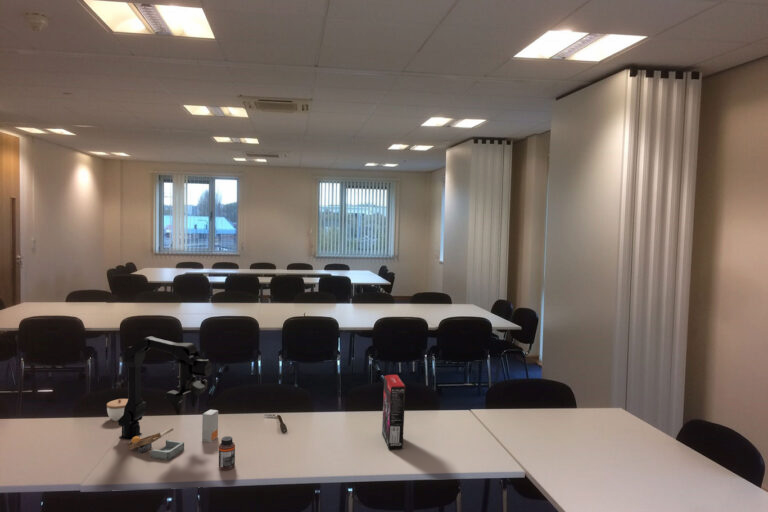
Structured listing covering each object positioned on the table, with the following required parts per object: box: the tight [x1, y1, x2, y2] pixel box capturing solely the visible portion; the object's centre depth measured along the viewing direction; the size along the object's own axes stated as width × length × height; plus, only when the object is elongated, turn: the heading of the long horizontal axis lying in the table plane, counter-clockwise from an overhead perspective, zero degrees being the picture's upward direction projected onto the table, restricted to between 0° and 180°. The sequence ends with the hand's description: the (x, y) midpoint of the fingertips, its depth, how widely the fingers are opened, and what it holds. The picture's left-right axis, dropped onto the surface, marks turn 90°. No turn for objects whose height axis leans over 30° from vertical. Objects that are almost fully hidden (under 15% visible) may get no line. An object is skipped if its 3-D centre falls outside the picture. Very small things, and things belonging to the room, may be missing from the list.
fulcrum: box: [137, 442, 153, 455], centre depth 208 cm, size 2×6×2 cm, turn 167°
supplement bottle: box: [218, 435, 236, 471], centre depth 195 cm, size 6×6×11 cm
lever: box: [127, 428, 174, 450], centre depth 212 cm, size 12×13×2 cm
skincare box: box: [201, 409, 219, 443], centre depth 220 cm, size 6×4×12 cm
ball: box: [131, 436, 141, 443], centre depth 209 cm, size 3×3×3 cm
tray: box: [150, 439, 185, 461], centre depth 205 cm, size 8×10×3 cm
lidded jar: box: [106, 398, 128, 422], centre depth 241 cm, size 11×11×9 cm
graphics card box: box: [381, 374, 406, 450], centre depth 222 cm, size 17×7×27 cm, turn 10°
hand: (186, 410), depth 214 cm, fingers open, 9 cm apart
